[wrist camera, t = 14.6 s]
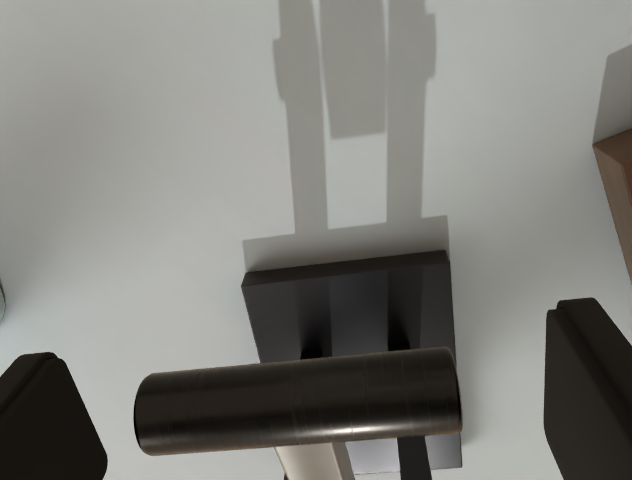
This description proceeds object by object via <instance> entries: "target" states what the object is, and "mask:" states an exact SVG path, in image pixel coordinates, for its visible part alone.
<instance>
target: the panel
mask: <svg viewBox="0 0 632 480" xmlns="http://www.w3.org/2000/svg"><path fill="white" fill-rule="evenodd" d="M593 149H594V153H595V156H596V160H597V163H598V167H599V170H600V174H601V177H602V181H603V184H604V188H605V191H606V195H607V198H608V202H609V206H610V209H611V213H612V216H613V220H614V223H615V227H616V230H617V234H618V237H619V241H620V244H621V248H622V252H623V255H624V259H625V262H626V266H627V269H628V273H629V276H630V280H631V283H632V129H630V130H627V131H625V132H623V133H620V134H618V135H615V136H613V137H610V138H608V139H605V140H603V141H601V142H598V143H596V144H593Z"/></svg>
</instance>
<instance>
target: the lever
mask: <svg viewBox="0 0 632 480" xmlns="http://www.w3.org/2000/svg"><path fill="white" fill-rule="evenodd" d="M462 426H463V414H462V403H461V395H460V388H459V382H458V376H457V371H456V366H455V362H454V358H453V355H452V352H451V351H450V349H449V348H448V347H445V346H442V347H431V348H420V349H409V350H399V351H388V352H377V353H366V354H356V355H345V356H334V357H323V358H312V359H302V360H291V361H280V362H269V363H259V364H248V365H237V366H226V367H216V368H205V369H194V370H183V371H173V372H162V373H153V374H150V375H149V376H147V377H146V378H144V380H143V381H142V382H141V384H140V386H139V388H138V391H137V394H136V399H135V404H134V430H135V435H136V439H137V442H138V444H139V446H140V448H141V450H142V451H143V452H144V453H146V454H148V455H150V456H160V455H174V454H187V453H201V452H215V451H228V450H242V449H255V448H269V447H274V448H275V451H276V453H277V455H278V458H279V460H280V462H281V464H282V467H283V469H284V471H285V474H286V476H287V478H288V480H355V478H354V474H353V470H352V466H351V462H350V459H349V455H348V451H347V447H346V444H345V442H351V441H365V440H378V439H392V438H405V437H419V436H433V435H446V434H457V433H459V432H461V430H462Z"/></svg>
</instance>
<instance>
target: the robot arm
mask: <svg viewBox="0 0 632 480" xmlns="http://www.w3.org/2000/svg"><path fill="white" fill-rule="evenodd" d="M544 430H545V435H546V438H547V441H548V444H549V446H550V449H551V451H552V453H553V456H554V458H555V460H556V463H557V465H558V467H559V470H560V472H561V474H562V477H563V479H564V480H632V346H631V344H630V343H629V342H628V341H627V339H626V338H625V337H624V335H623V334H622V333H621V331H620V330H619V329H618V327H617V326H616V325H615V324H614V322H613V321H612V320H611V318H610V317H609V316H608V314H607V313H606V312H605V311H604V309H603V308H602V307H601V305H600V304H599V303H598V301H597V300H596V299H594V298H581V299H571V300H561V301H559V302H558V304H557V308H556V309H553V310H548V312H547V318H546V353H545V389H544ZM107 463H108V460H107V454H106V452H105V450H104V447H103V445H102V443H101V441H100V438H99V436H98V434H97V432H96V429H95V427H94V425H93V423H92V421H91V418H90V416H89V414H88V412H87V409H86V407H85V405H84V403H83V401H82V398H81V396H80V394H79V392H78V389H77V387H76V385H75V383H74V381H73V378H72V376H71V374H70V372H69V369H68V367H67V365H66V363H65V362H64V360H62V359H59V358H58V357H57V356H56V355H55V354H54V353H51V352H44V353H34V354H24V355H21V356H19V357H18V358H17V359H16V360H15V361H14V362H13V363H12V364H11V365H10V367H9V368H8V369H7V370H6V371H5V372H4V373H3V374H2V376H1V377H0V480H102V479H103V477H104V475H105V473H106V470H107Z"/></svg>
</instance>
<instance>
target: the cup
mask: <svg viewBox="0 0 632 480" xmlns="http://www.w3.org/2000/svg"><path fill="white" fill-rule="evenodd" d="M4 310H5V303H4V298H3V294H2V291H1V289H0V324H1V322H2V319H3V315H4Z"/></svg>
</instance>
